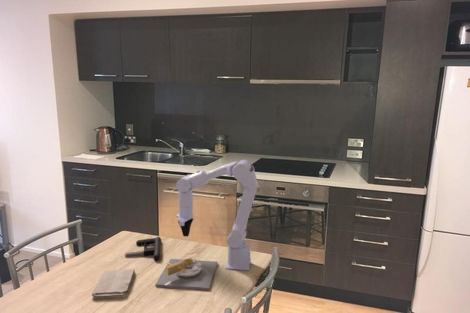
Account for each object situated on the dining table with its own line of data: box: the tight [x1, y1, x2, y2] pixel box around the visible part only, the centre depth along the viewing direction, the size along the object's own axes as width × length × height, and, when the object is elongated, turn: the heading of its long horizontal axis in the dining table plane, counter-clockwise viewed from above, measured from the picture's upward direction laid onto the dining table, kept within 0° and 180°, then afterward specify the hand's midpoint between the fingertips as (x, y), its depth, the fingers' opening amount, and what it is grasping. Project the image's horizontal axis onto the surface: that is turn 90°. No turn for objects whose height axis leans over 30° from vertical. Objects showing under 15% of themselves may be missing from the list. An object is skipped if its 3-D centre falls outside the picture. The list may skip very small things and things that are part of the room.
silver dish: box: [165, 257, 201, 278], centre depth 137 cm, size 14×10×5 cm
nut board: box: [155, 258, 218, 291], centre depth 139 cm, size 20×20×1 cm
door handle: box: [124, 236, 162, 262], centre depth 158 cm, size 3×20×16 cm
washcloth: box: [91, 268, 136, 300], centre depth 131 cm, size 12×18×3 cm, turn 6°
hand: (186, 235), depth 150 cm, fingers closed
